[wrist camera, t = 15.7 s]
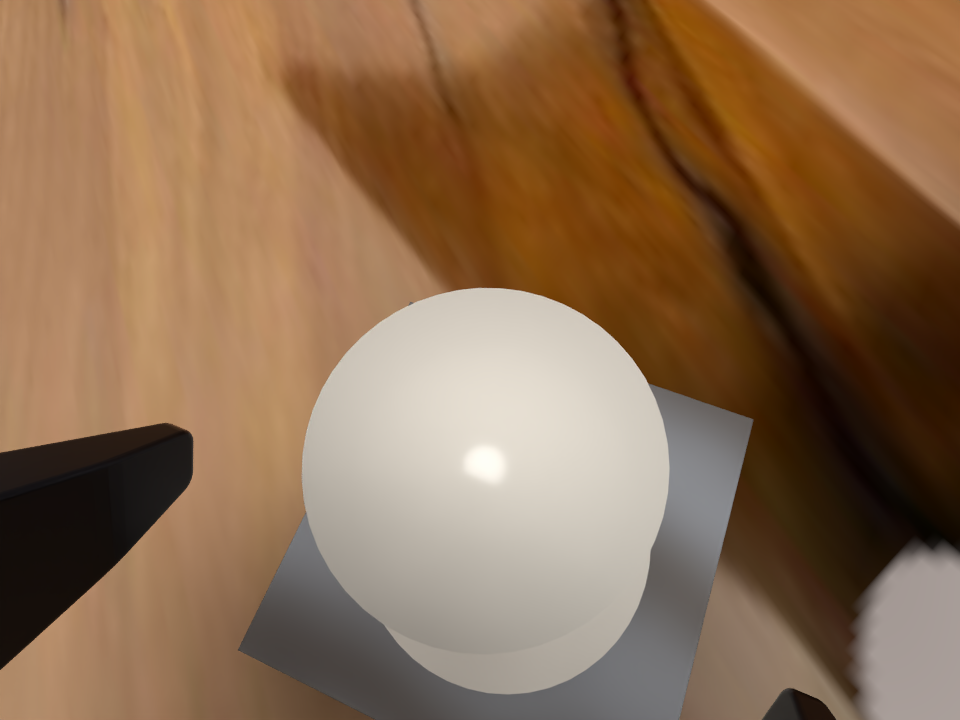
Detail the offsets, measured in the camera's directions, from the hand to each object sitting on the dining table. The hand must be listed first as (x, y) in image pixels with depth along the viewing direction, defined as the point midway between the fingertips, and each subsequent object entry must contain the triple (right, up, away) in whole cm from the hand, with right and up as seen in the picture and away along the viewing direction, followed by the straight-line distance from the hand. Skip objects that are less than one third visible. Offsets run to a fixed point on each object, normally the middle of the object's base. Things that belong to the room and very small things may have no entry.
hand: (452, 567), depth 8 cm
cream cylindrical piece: (+1, -3, +11) cm, 11 cm away
